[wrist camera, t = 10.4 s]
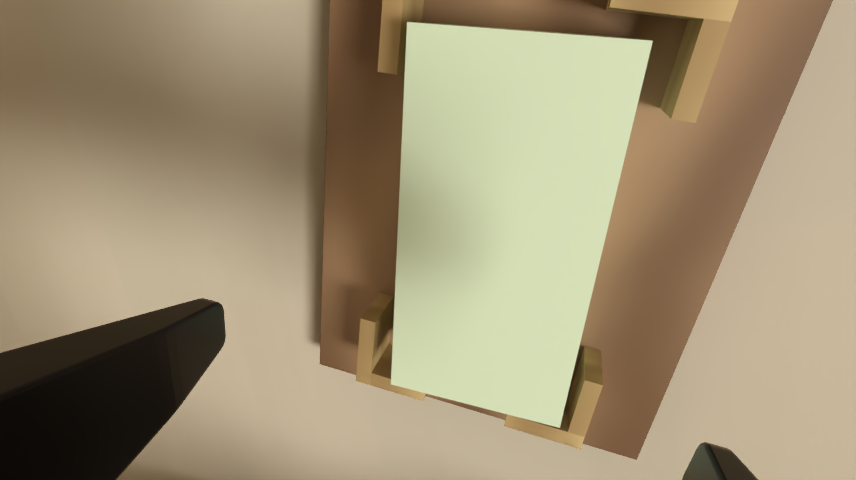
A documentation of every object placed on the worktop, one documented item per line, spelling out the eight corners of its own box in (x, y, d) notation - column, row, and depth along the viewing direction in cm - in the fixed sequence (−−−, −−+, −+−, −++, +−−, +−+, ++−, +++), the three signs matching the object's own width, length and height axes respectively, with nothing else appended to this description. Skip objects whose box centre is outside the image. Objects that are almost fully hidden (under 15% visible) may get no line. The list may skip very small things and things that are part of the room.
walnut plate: (836, -55, 13) (908, -78, 10) (633, 437, 21) (641, 502, 18) (349, -97, 16) (298, -124, 13) (331, 348, 23) (297, 392, 21)
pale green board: (639, 38, 14) (653, 40, 11) (562, 372, 19) (559, 428, 16) (437, 23, 15) (407, 21, 13) (415, 337, 20) (391, 384, 18)
